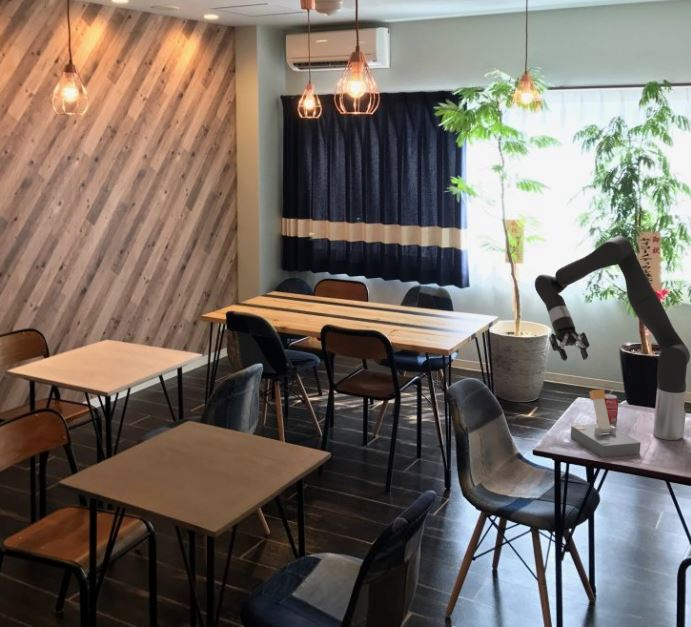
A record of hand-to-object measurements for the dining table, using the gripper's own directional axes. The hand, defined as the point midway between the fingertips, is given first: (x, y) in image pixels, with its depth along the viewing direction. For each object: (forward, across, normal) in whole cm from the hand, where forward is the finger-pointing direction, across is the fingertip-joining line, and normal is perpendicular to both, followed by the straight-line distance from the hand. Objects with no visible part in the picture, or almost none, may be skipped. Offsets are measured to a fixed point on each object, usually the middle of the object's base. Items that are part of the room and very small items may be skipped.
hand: (575, 359), depth 290 cm
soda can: (+22, +11, +14) cm, 28 cm away
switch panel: (+33, 0, +2) cm, 33 cm away
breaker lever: (+29, 0, -1) cm, 29 cm away
